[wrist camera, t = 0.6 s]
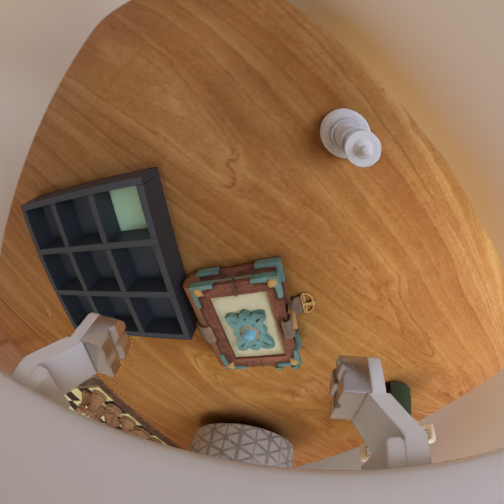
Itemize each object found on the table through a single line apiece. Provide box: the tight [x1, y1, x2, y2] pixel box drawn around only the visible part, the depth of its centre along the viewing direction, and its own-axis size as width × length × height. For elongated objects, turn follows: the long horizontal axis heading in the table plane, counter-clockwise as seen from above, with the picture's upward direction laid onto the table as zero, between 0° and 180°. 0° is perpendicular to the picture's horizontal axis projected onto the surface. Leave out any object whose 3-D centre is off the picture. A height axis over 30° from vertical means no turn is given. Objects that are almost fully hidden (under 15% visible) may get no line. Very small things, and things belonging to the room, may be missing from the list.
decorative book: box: [183, 257, 316, 370], centre depth 34 cm, size 13×18×5 cm
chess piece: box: [320, 108, 381, 167], centre depth 20 cm, size 4×4×10 cm
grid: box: [21, 167, 198, 340], centre depth 34 cm, size 20×20×4 cm
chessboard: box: [65, 376, 181, 449], centre depth 63 cm, size 45×45×10 cm
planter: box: [189, 423, 294, 468], centre depth 44 cm, size 19×19×18 cm
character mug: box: [360, 382, 436, 462], centre depth 34 cm, size 11×7×13 cm, turn 119°
